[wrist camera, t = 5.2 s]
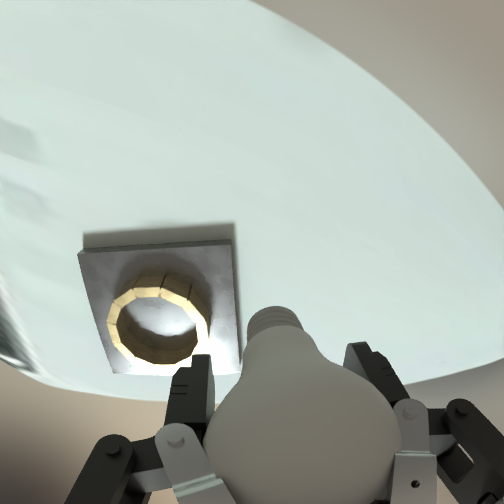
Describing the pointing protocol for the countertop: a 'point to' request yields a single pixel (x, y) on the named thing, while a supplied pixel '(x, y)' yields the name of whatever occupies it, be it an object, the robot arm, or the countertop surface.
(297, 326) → the lightbulb
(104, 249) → the lamp socket
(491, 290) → the countertop surface
